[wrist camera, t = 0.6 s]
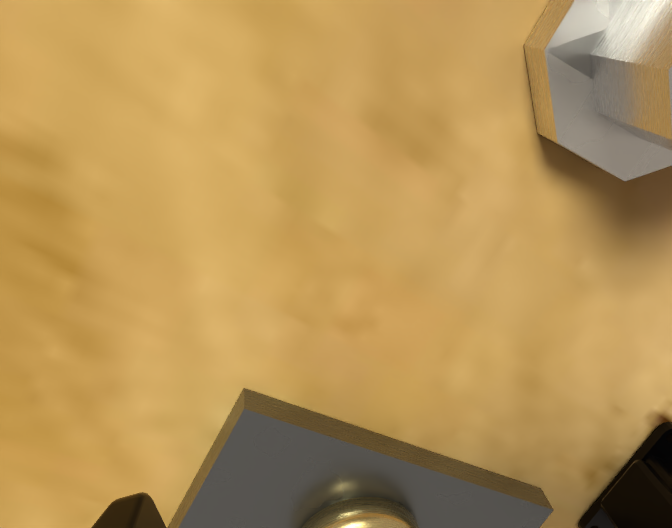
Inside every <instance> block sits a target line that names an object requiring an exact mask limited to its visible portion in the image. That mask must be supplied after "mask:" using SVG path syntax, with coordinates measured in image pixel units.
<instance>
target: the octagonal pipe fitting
mask: <svg viewBox="0 0 672 528" xmlns="http://www.w3.org/2000/svg"><path fill="white" fill-rule="evenodd" d="M524 49H525V56H526V62H527V69H528V75H529V82H530V88H531V95H532V101H533V108H534V114H535V120H536V127H537V133H539V134H540V135H542V136H544V137H546V138H547V139H549V140H551V141H553V142H554V143H556V144H558V145H560V146H561V147H563V148H565V149H567V150H568V151H570V152H572V153H574V154H575V155H577V156H579V157H581V158H582V159H584V160H586V161H588V162H589V163H591V164H593V165H595V166H596V167H598V168H600V169H602V170H604V171H606V172H608V173H609V174H611V175H613V176H615V177H617V178H619V179H621V180H623V181H628V180H631V179H634V178H637V177H640V176H643V175H646V174H648V173H651V172H654V171H657V170H660V169H663V168H666V167H669V166H672V0H550V2H549V4H548V5H547V7H546V9H545V10H544V12H543V14H542V16H541V17H540V19H539V21H538V22H537V24H536V26H535V27H534V29H533V31H532V32H531V34H530V36H529V37H528V39H527V41H526V42H525V44H524Z"/></svg>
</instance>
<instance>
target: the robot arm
mask: <svg viewBox="0 0 672 528" xmlns="http://www.w3.org/2000/svg"><path fill="white" fill-rule="evenodd" d="M578 527H579V528H672V422H665V423H663V424H661V425H660V426H659V427H657V429H656V430H655V431H654V432H653V433H652V435H651V436H650V437H649V438H648V439H647V441H646V442H645V443H644V444H643V445H642V447H641V448H640V449H639V450H638V451H637V453H636V454H635V455H634V456H633V457H632V459H631V460H630V461H629V462H628V463H627V465H626V466H625V467H624V468H623V470H622V471H621V472H620V473H619V474H618V476H617V477H616V478H615V479H614V480H613V482H612V483H611V484H610V485H609V486H608V488H607V489H606V490H605V491H604V492H603V494H602V495H601V496H600V497H599V498H598V500H597V501H596V502H595V503H594V504H593V506H592V507H591V508H590V509H589V510H588V512H587V513H586V514H585V515H584V516H583V518H582V519H581V520H580V522H579V525H578ZM92 528H166V526H165V524H164V522H163V520H162V518H161V516H160V514H159V512H158V510H157V508H156V506H155V504H154V502H153V500H152V498H151V497H150V496H149V495H148V494H147V493H143V492H142V493H137V494H134V495H130V496H127V497H123V498H119V499H117V500H115V501H113V502H112V503H111V504H110V505H109V506H108V508H107V509H106V510H105V511H104V513H103V514H102V515H101V516H100V518H99V519H98V520H97V521H96V523H95V524H94V525H93V526H92Z"/></svg>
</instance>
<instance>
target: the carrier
mask: <svg viewBox="0 0 672 528" xmlns="http://www.w3.org/2000/svg"><path fill="white" fill-rule="evenodd" d="M552 511H553V508H552V506H551V505H550V503H549V501H548V500H547V498H546V496H545V495H544V493H543V491H542V490H541V489H540V488H537V487H534V486H531V485H528V484H525V483H523V482H520V481H517V480H514V479H511V478H508V477H505V476H502V475H499V474H496V473H493V472H490V471H487V470H484V469H481V468H478V467H475V466H472V465H469V464H466V463H463V462H460V461H458V460H455V459H452V458H449V457H446V456H443V455H440V454H437V453H434V452H431V451H428V450H425V449H422V448H419V447H416V446H413V445H410V444H407V443H404V442H401V441H398V440H396V439H393V438H390V437H387V436H384V435H381V434H378V433H375V432H372V431H369V430H366V429H363V428H360V427H357V426H354V425H351V424H348V423H345V422H342V421H339V420H336V419H333V418H331V417H328V416H325V415H322V414H319V413H316V412H313V411H310V410H307V409H304V408H301V407H298V406H295V405H292V404H289V403H286V402H283V401H280V400H277V399H274V398H271V397H268V396H266V395H263V394H260V393H257V392H254V391H251V390H248V389H245V388H244V389H243V391H242V392H241V394H240V396H239V398H238V400H237V402H236V403H235V405H234V407H233V409H232V411H231V413H230V414H229V416H228V418H227V420H226V422H225V424H224V425H223V427H222V429H221V431H220V433H219V435H218V436H217V438H216V440H215V442H214V444H213V446H212V447H211V449H210V451H209V453H208V455H207V457H206V458H205V460H204V462H203V464H202V466H201V468H200V469H199V471H198V473H197V475H196V477H195V479H194V480H193V482H192V484H191V486H190V488H189V490H188V491H187V493H186V495H185V497H184V499H183V501H182V502H181V504H180V506H179V508H178V510H177V512H176V513H175V515H174V517H173V519H172V521H171V523H170V524H169V526H168V528H539V527H540V526H541V525H542V524H543V523H544V521H545V520H546V519H547V518H548V516H549V515H550V514H551V513H552Z"/></svg>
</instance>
